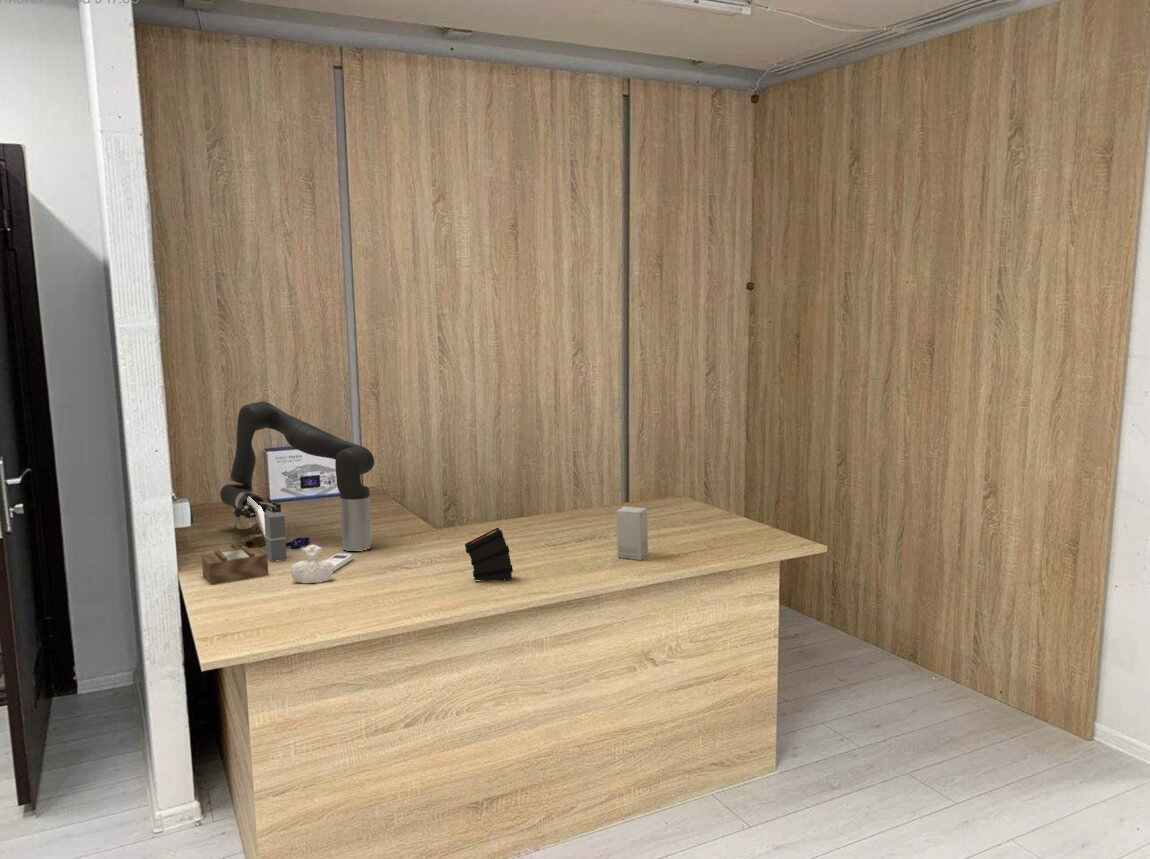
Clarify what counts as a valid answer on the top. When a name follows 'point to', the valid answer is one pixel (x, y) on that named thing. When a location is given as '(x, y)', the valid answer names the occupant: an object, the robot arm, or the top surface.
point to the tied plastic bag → (312, 567)
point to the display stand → (234, 565)
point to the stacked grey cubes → (275, 536)
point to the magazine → (490, 556)
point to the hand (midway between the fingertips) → (263, 513)
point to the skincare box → (632, 533)
